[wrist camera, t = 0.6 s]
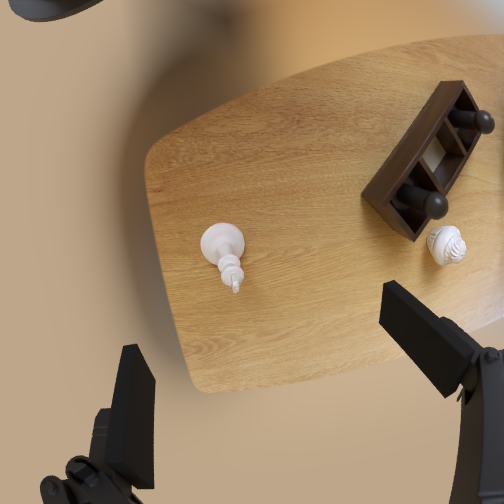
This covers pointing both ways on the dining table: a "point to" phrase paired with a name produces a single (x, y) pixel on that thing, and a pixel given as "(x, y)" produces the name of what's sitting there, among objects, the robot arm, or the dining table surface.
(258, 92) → the dining table surface
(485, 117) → the ebony piece
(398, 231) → the rack
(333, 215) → the dining table surface
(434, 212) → the ebony piece
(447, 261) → the muffin
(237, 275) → the chess piece
